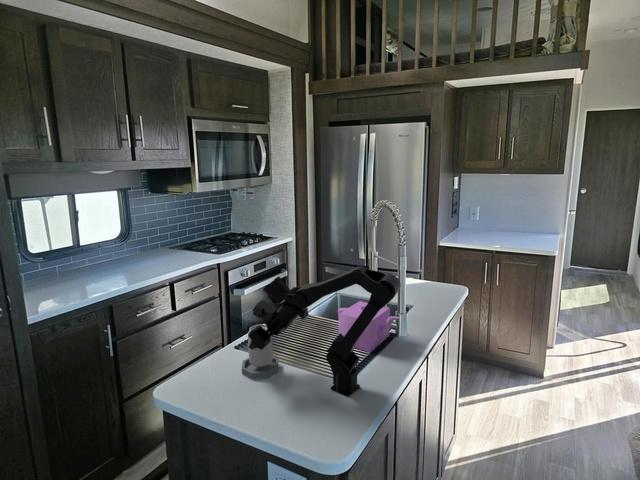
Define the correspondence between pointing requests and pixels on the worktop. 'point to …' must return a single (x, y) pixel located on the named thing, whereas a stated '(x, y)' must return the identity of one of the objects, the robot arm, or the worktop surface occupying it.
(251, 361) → the can
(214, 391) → the worktop surface
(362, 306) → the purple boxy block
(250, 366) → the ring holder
